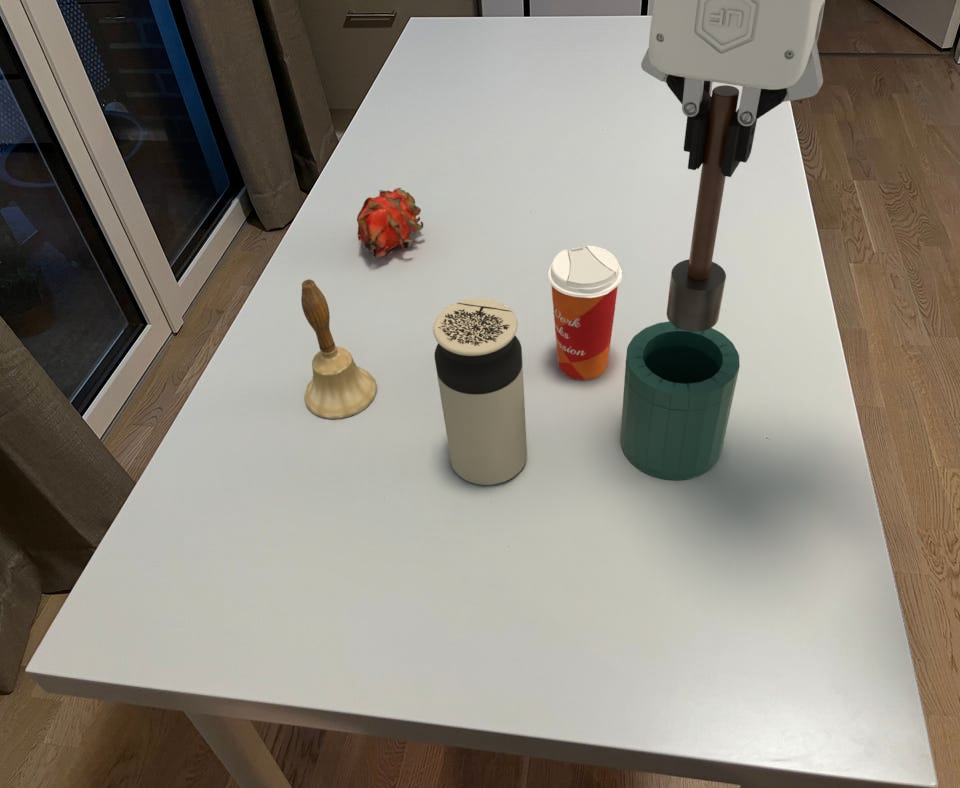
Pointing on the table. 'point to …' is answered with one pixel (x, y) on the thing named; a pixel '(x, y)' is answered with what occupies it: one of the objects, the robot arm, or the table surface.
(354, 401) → the hand bell
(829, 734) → the table surface
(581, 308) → the paper cup
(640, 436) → the jar
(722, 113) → the peg on round base
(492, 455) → the travel mug
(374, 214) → the dragon fruit
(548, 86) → the table surface
